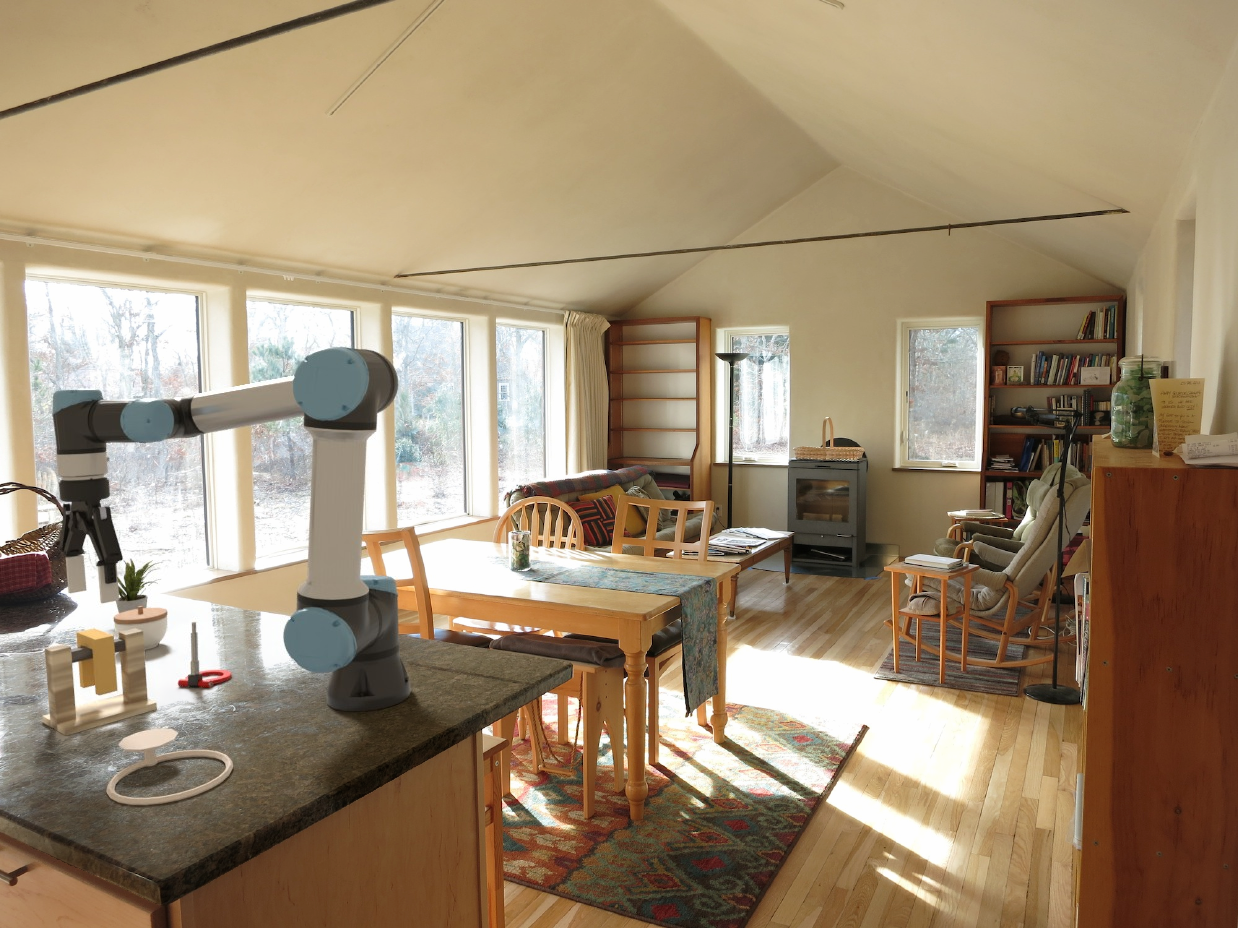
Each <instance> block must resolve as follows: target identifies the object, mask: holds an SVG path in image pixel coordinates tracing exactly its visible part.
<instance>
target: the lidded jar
mask: <svg viewBox="0 0 1238 928" xmlns="http://www.w3.org/2000/svg"><path fill="white" fill-rule="evenodd" d="M113 622H114V630H115V631H114V632H115V634H116V637H117V638H116V639H118V638H119V632H122V631H126V630H131V629H135V628H136V629H139V630H142V631H143V637H144V651H145V650H146V651H147V650H152V649H154V648H156V647H158V646H159V643H160V642H161V641H162V640H163V639H164V638H165V635H166V633H167V628H168V610H167V609H166V608H163V607H146V608H143V606H138V609H134V610H129V611H125V612H122V613H119V612H118V613H117V614H115V615H114V616H113Z"/></svg>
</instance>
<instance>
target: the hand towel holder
mask: <svg viewBox="0 0 1238 928" xmlns="http://www.w3.org/2000/svg"><path fill="white" fill-rule="evenodd" d="M178 735H179V732H178V731H177V730H174V729H173V728H152V729H146V730H143V731H138V732H136V733H132V734H130V735H128V736H126V737H123V738H122V740H121V741H120V742H119V743H118V746H119V747H120V748H122V749H123V750H125V751H126V752H129V753H144V754H143V756H144V759H142V760H140V761H138V762H135V763H133V764H131V765H129V766H127V767H125V768H123V769H122V770H120V771H119V772H117V773H116V774H115V775H114V776H113V777H112V778H111V779H110V781H109V782H108V784H107V787H106V793H107V795H108V797H109V798H110V799H111V800H113V801H115V802H117V803H119V804H123V805H128V806H129V805H130V806H150V805H159V804H167V803H171V802H175V801H176V802H177V801H180V800H184V799H188V798H190V797H194V796H197V795H200V794H201V793H204V792H206V791H210V790H211V789H213V788H215V787H216V786H219V785H220V784H221V783H222V782H224V781H225V780H226V779H227V778H228V777H230V774H231V772H232V771H233V768H234V763H233V761H232V759H231V758H230V757H229V756H228V755H227V754H225V753H222V752H220V751H216V750H211V749H186V750H179V751H172V752H168V753H167V752H166V753H163V754H159V755H156V754H157V753H156V750H159V749H161V748H164V747H166V746H168V745H169V744H171V743H172V742H173V741H174V740H175V739H176V737H177V736H178ZM193 757H195V758H211V759H216V760H218V761H221V762H223V763H224V764H225V769H224V771H223V772H222V773H221V774H220V775H219V776H217V777H215V778H214V779H212V780H210V781H208V782H206V783H204V784H201V785H199V786H197V787H194V788H191V789H187V790H184V791H181V792H177V793H173V794H168V795H163V796H162V795H161V796H153V797H130V796H125V795H121V794H119V793H118V792H117V791H116V790H115V788H116V785H117V783H118V782H119V781H121V780H122V779H124V777H126V776H128V775H129V774H132V773H133V772H135V771H137V770H140V769H143V768H145V767H153V766H156V765H157V764H158V763H161V762H165V761H169V760H170V761H171V760H176V759H181V758H193Z"/></svg>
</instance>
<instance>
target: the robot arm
mask: <svg viewBox="0 0 1238 928" xmlns="http://www.w3.org/2000/svg"><path fill="white" fill-rule="evenodd" d="M398 391H399V378H398V372H397V370H396V368H395V367H394V365H393V363H392V362H391V361H390V359H388V358H387V357H386V356H385V355H383V354H382V353H380V352H377V351H375V350H372V349H367V348H364V349H363V348H354V347H353V348H352V347H346V346H341V345H339V346H330V347H322V348H318V349H316V350H314V351H312V352H310V353H309V354H308V355H306V356H305V357H304V358H303V359H302V360H301V361H300V362H299V364H298V366H297V367H296V369H295V372H294V375H293V376H288V377H282V378H276V379H275V378H274V379H271V380H265V381H260V382H255V383H254V382H253V383H250V384H244V385H239V386H238V385H237V386H234V387H227V388H223V389H218V390H211V391H206V392H202V393H200V392H199V393H195V394H189V395H184V396H178V397H169V398H168V397H167V398H162V397H161V398H159V397H158V398H149V397H146V398H145V397H144V398H142V397H141V398H140V397H139V398H130V399H129V398H127V399H104V397H103V392H102V391H101V390H100V389H99V388H90V389H89V388H76V389H75V388H74V389H71V388H70V389H58V390H56V391H55V392H53V395H52V413H51V416H52V420H53V428H54V436H55V446H56V454H55V459H56V472H57V476H58V478H61V480H59V481H58V489H59V499H60V501H62V502H64V503H63V504H62V515H63V516H62V520H61V521H62V523H61V529H60V540H59V549H58V550H59V552H60V553H63V556H64V557H65V565H66V567H65V568H66V578H67V592H68V594H75V593H80V592H86V591H87V580H86V579H87V578H86V570H85V567H86V566H85V555H84V554H86V552H85V550H84V548H83V547H84V543H85V540H86V537H87V536H88V537H89V539H90V542H91V544H92V546H93V550H94V552H95V554H96V556H97V559H98V560H97V562H96V564H95V566H96V567H97V573H98V585H99V586H98V587H99V596H100V597H99V598H100V604H105V603H106V604H108V603H111V602H116V601H118V600H119V598H120V595H119V590H118V586H119V583H118V578H119V576H118V566H117V564H119V562H122V561H123V560H124V557H123V553H122V551H121V550H122V549H121V547H120V543H119V539H118V535H117V533H116V529H115V525H114V522H113V519H112V512H111V511H112V510H111V507H110V506H109V505H106V506H102V504H101V501H102V500H105V499H108V498H109V497H110V496H111V491H110V490H111V489H110V479H109V478H108V476H105V475H107V474H108V473H109V469H108V462H110V456H108V455H107V453H108V452H107V444H111V443H112V444H113V443H114V444H115V443H116V444H117V443H118V444H119V443H120V444H121V443H122V444H123V443H124V444H127V443H130V444H133V443H135V444H136V443H139V444H149V443H150V444H151V443H159V442H163V441H165V440H173V439H190V438H195V437H198V436H201V435H205V434H211V433H216V432H221V431H228V430H233V429H241V428H244V427H245V428H246V427H249V426H256V425H262V424H268V423H272V422H273V423H274V422H278V421H285V420H289V419H291V420H292V419H296V418H297V419H298V418H303V428H304V429H305V431H306V432H308V434H309V435H310V436H311V438H312V449H311V450H312V453H311V477H310V478H311V479H310V504H309V525H308V526H309V527H308V532H309V533H308V553H307V575H306V576H307V577H306V580H305V581H304V582H302V583H301V584H300V585H299V586H298V587H297V591H296V608H295V610H296V611H295V612H294V613H293V614H292V615H291V616H290V617H289V618H288V620H287V622H286V624H285V625H284V629H283V643H284V648H285V649H286V652H287V654H288V655H289V657H290V658H291V659H292V660H293V661H294V662H295V663H296V664H297V665H298V666H299V667H300V668H302V669H304V670H305V671H308V672H311V673H314V674H327V673H330V677H329V681H328V685H327V687H326V694H325V695H326V704H327V705H328V706H329V707H331V708H332V709H335V710H338V711H339V710H340V711H346V712H367V711H375V710H380V709H384V708H385V709H386V708H388V707H392V706H395V705H397V704H399V703H402V702H403V701H406V700H407V699H408V697H410V695H411V681H410V677H409V675H408V673H407V670H406V666H405V664H404V663H403V659H402V657H401V653H400V635H399V633H400V631H399V605H398V604H399V600H398V597H399V593H398V587H397V582H396V579H394V577H392V576H389V575H379V574H373V575H372V574H371V575H370V574H368V575H365V574H364V575H363V574H362V575H361V570H362V567H361V566H362V547H363V528H364V526H363V525H364V523H363V522H364V505H365V504H364V502H365V487H366V486H365V485H366V463H367V461H366V460H367V443H368V442H367V441H368V440H369V438H370V437H372V435H374V434H375V433H376V432H377V427H378V426H377V425H378V414H379V413H381V412H384V410H386V409H387V408H388V407H389V406H390V405H391V404H392V403H393V402H394V400H395V398H396V397H397V395H398ZM117 576H118V577H117Z"/></svg>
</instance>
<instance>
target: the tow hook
mask: <svg viewBox="0 0 1238 928" xmlns="http://www.w3.org/2000/svg"><path fill="white" fill-rule="evenodd" d="M198 638H199V637H198V632H197V621H192V622H191V632H190V649H191V651H190V652H191V653H190V655H191V656H190V657H191V661H190V674H187V676H185V678H180V679H179V680H178V681H177V686H178V687H185V688H186V687H187V688H198V689H199V688H206V689H207V688H209V689H211V688H212V686H213V685H215V684H221V683H224V682H226V681H228V680H230V679H231V678H232V672H231V671H229V670H225V669H207V670H201V671H200V660H199V647H198V646H199V640H198ZM208 676H218V677H215V678H207V679H203V677H208Z"/></svg>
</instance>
